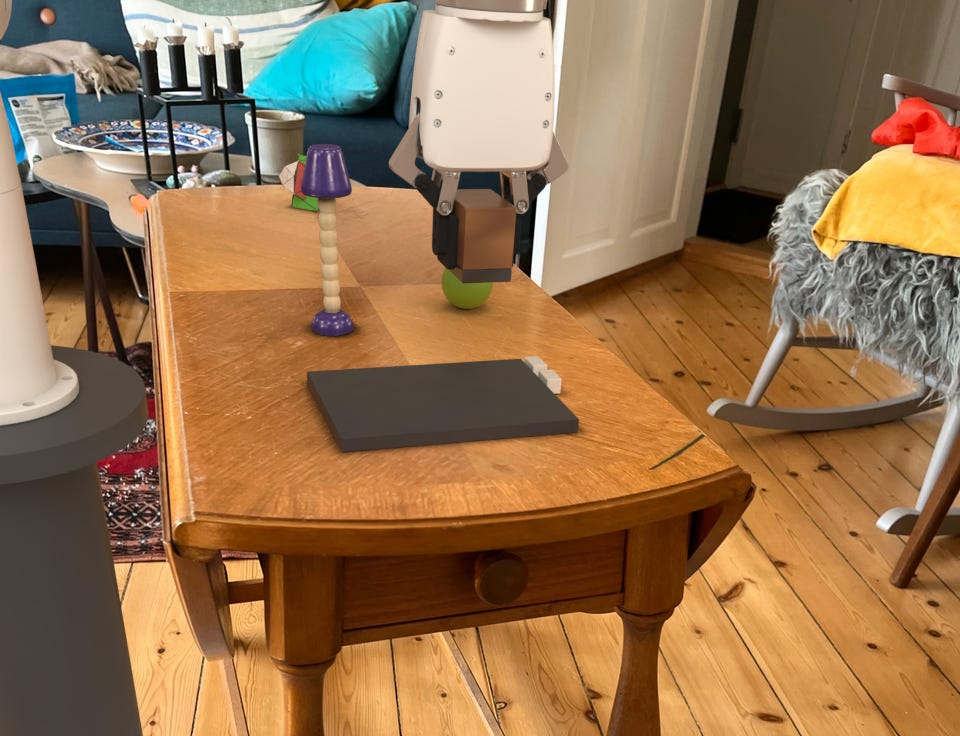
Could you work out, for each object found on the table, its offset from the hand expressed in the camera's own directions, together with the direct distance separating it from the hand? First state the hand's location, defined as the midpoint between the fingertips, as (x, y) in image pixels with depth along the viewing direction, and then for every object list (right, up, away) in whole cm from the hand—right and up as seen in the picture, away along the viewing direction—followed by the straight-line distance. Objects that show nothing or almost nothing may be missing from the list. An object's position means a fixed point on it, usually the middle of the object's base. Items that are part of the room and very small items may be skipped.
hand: (474, 261), depth 82 cm
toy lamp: (-15, +1, +21) cm, 26 cm away
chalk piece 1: (+5, -5, +14) cm, 15 cm away
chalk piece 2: (+6, -7, +11) cm, 14 cm away
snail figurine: (-1, +5, +29) cm, 30 cm away
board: (-3, -10, +7) cm, 13 cm away
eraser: (0, -1, 0) cm, 1 cm away
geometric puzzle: (-23, +29, +60) cm, 71 cm away
